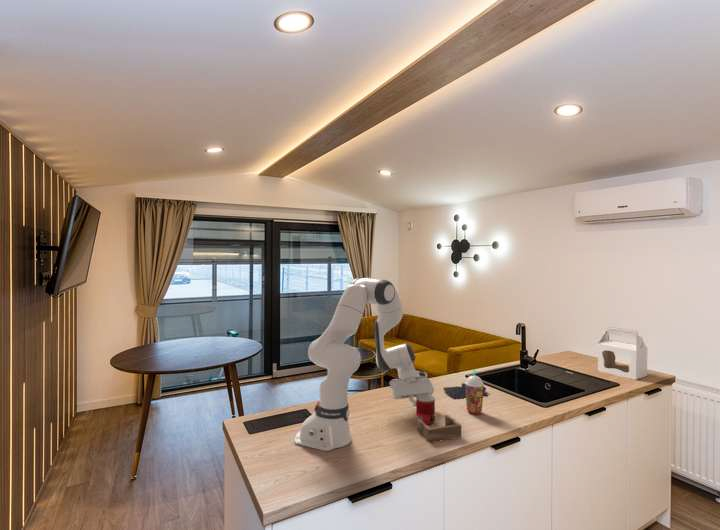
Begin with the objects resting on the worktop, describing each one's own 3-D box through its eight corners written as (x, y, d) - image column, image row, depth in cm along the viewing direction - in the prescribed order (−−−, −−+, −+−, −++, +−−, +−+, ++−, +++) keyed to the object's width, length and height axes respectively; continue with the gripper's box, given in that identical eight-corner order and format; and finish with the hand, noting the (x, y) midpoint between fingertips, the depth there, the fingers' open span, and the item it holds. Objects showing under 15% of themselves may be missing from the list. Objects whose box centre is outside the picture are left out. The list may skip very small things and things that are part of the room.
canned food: (434, 426, 163) (434, 401, 163) (415, 425, 165) (415, 399, 165) (434, 419, 171) (434, 394, 171) (416, 417, 173) (416, 393, 172)
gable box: (597, 370, 243) (597, 326, 243) (608, 367, 250) (608, 325, 249) (636, 380, 224) (637, 332, 223) (647, 377, 231) (648, 330, 230)
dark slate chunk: (439, 390, 209) (439, 382, 209) (475, 387, 214) (475, 379, 214) (453, 400, 194) (453, 391, 194) (491, 397, 199) (491, 388, 199)
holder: (416, 430, 160) (416, 418, 160) (447, 426, 164) (447, 414, 164) (428, 442, 149) (428, 430, 149) (461, 437, 154) (461, 425, 154)
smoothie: (461, 410, 181) (461, 368, 180) (475, 408, 184) (476, 366, 183) (472, 417, 173) (472, 373, 172) (487, 414, 176) (487, 371, 175)
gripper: (390, 376, 180) (398, 405, 170) (429, 372, 186) (439, 400, 176) (386, 383, 184) (394, 411, 175) (425, 379, 190) (434, 406, 181)
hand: (417, 405), depth 176 cm, fingers closed
